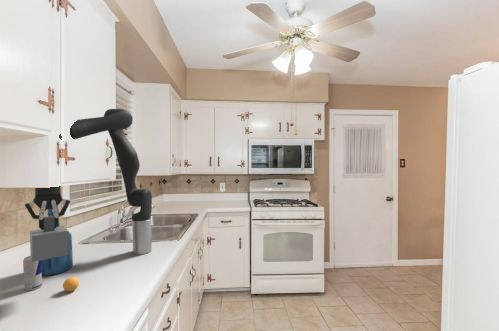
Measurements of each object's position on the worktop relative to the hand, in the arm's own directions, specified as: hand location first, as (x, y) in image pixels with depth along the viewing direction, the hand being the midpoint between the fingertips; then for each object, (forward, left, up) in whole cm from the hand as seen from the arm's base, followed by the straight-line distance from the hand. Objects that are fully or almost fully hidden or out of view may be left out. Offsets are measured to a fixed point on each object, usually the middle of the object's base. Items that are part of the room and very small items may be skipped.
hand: (48, 228), depth 98 cm
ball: (+2, +6, -22) cm, 23 cm away
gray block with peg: (0, 0, -10) cm, 10 cm away
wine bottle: (-25, +4, -25) cm, 35 cm away
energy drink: (-11, -5, -25) cm, 27 cm away
